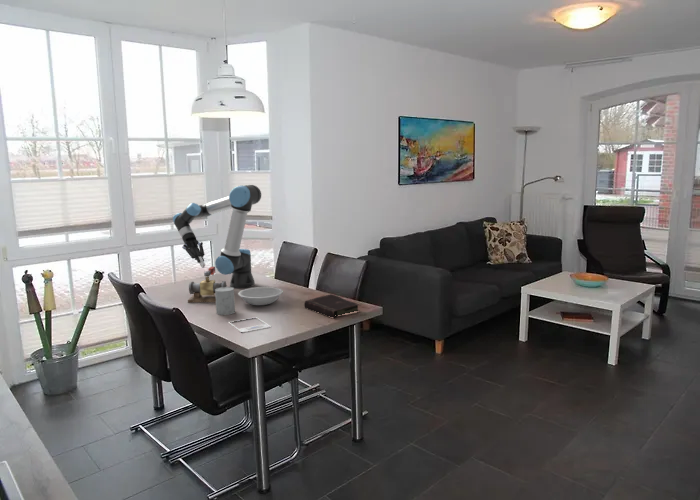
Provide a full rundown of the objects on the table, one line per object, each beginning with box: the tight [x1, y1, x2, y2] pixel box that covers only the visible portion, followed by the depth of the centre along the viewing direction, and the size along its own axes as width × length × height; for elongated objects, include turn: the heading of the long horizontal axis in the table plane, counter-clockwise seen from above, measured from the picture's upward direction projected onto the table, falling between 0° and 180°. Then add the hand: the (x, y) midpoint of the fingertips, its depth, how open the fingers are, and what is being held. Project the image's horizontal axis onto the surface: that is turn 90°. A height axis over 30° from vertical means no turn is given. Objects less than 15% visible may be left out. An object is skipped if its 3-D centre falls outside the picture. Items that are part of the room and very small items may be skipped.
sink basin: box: [237, 286, 284, 306], centre depth 281 cm, size 24×24×7 cm
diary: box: [303, 293, 361, 318], centre depth 268 cm, size 19×25×5 cm
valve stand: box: [187, 276, 227, 304], centre depth 289 cm, size 20×11×13 cm, turn 91°
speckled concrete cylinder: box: [214, 286, 236, 316], centre depth 265 cm, size 10×10×12 cm
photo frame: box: [227, 316, 272, 333], centre depth 245 cm, size 15×1×18 cm
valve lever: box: [203, 266, 216, 277], centre depth 294 cm, size 3×16×4 cm, turn 1°
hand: (203, 266), depth 304 cm, fingers closed
